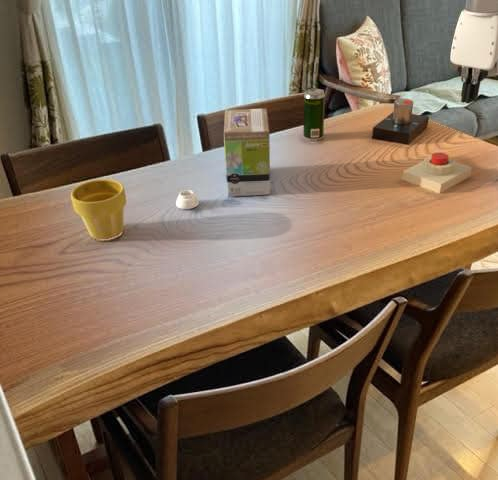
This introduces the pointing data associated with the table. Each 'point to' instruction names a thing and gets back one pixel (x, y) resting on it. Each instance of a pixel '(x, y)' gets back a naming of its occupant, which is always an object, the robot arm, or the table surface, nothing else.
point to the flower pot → (100, 207)
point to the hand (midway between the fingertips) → (468, 101)
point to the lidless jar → (187, 200)
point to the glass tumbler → (402, 111)
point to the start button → (439, 159)
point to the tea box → (247, 152)
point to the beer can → (314, 114)
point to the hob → (400, 129)
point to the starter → (436, 174)
